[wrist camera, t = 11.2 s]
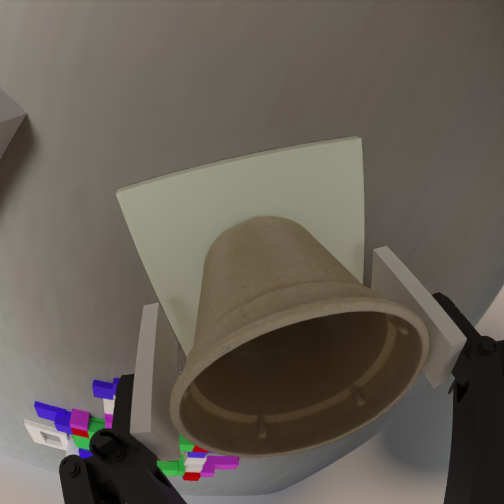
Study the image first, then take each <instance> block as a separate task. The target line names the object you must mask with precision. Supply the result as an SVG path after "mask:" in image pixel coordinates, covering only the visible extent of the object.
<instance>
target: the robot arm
mask: <svg viewBox="0 0 504 504" xmlns="http://www.w3.org/2000/svg"><path fill="white" fill-rule="evenodd" d="M371 289H372V290H374V291H376V292H378V293H379V294H381V295H382V296H383V297H385V298H386V299H387V300H391V301H394V302H397V303H399V304H402V305H404V306H406V307H407V308H409V309H411V310H412V311H413V312H414V313H415V314H417V315H418V316H419V317H420V318H421V320H422V321H423V322H424V323H425V326H426V328H427V330H428V333H429V338H430V345H429V354H428V356H427V359H426V362H425V364H424V366H423V367H422V370H423V372H424V374H425V375H426V377H427V378H428V380H429V382H430V383H431V385H432V387H433V388H434V387H436V386H438V385H440V384H442V383H444V382H446V381H447V380H448V379H449V377H450V375H451V373H452V374H453V376H454V377H455V380H454V381H453V383H452V385H451V387H450V389H449V392H448V394H450V393H451V392H452V390H453V425H452V442H451V453H450V463H449V472H448V479H447V486H446V492H445V498H444V504H504V340H502V341H495V340H494V339H492V338H490V337H488V336H481V335H480V334H479V333H478V332H477V331H476V330H475V328H474V327H473V326H472V325H471V323H470V322H469V321H468V320H467V319H466V317H465V316H464V315H463V314H462V313H460V310H459V309H458V308H457V307H455V305H454V303H453V302H452V301H451V300H450V299H449V298H448V297H446V296H445V295H443V294H441V293H440V292H438V293H435V294H433V295H431V294H430V293H429V292H428V291H427V290H426V288H425V287H424V286H423V285H422V284H421V283H420V282H419V280H418V279H417V278H416V277H415V276H414V275H413V274H412V273H411V272H410V270H409V269H408V268H407V267H406V266H405V265H404V264H403V263H402V262H401V261H400V260H399V258H398V257H397V256H396V255H395V254H394V253H393V252H392V251H391V250H390V249H389V248H388V247H387V246H384V247H380V248H377V249H373V266H372V282H371ZM177 344H178V341H177V339H176V337H175V335H174V333H173V331H172V329H171V327H170V325H169V323H168V321H167V319H166V317H165V315H164V313H163V311H162V309H161V306H160V304H159V302H158V303H153V304H149V305H144V306H143V313H142V319H141V326H140V334H139V341H138V349H137V357H136V366H135V374H129V375H122V377H121V378H120V380H119V382H118V384H117V386H116V394H115V397H116V398H115V402H114V406H115V407H114V410H113V419H112V429H111V428H103V429H100V430H98V431H97V432H96V433H94V434H93V436H92V437H91V439H90V443H89V449H90V453H92V454H93V455H92V456H89V457H86V458H82V457H80V456H78V455H75V454H73V455H68V456H66V457H65V458H64V459H63V460H62V461H61V464H60V466H59V473H60V480H61V485H62V491H63V497H64V502H65V504H187V503H186V502H185V501H184V500H183V498H182V497H181V496H180V494H179V493H178V492H177V491H176V489H175V488H174V487H173V485H172V484H171V483H170V481H169V480H168V479H167V477H166V476H165V474H164V473H163V472H162V470H161V469H160V468H159V467H158V466H157V457H158V458H159V459H160V460H161V461H162V462H163V461H175V460H180V442H179V432H178V431H177V430H176V428H175V427H174V425H173V423H172V420H171V417H170V396H171V392H172V389H173V387H174V385H175V383H176V380H177V379H178V373H177Z"/></svg>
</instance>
